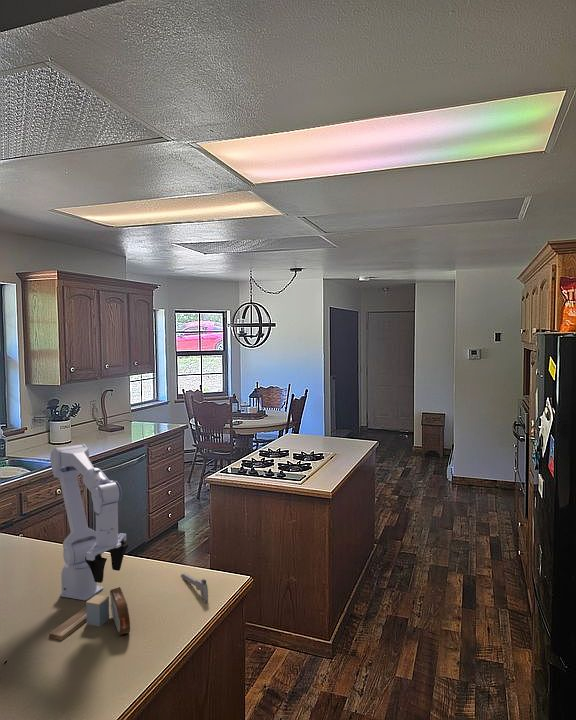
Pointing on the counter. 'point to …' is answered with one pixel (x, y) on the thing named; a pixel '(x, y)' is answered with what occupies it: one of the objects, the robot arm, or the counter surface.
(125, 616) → the tin
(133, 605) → the counter surface
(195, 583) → the caliper
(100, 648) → the counter surface
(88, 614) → the tan grey block
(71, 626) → the board
